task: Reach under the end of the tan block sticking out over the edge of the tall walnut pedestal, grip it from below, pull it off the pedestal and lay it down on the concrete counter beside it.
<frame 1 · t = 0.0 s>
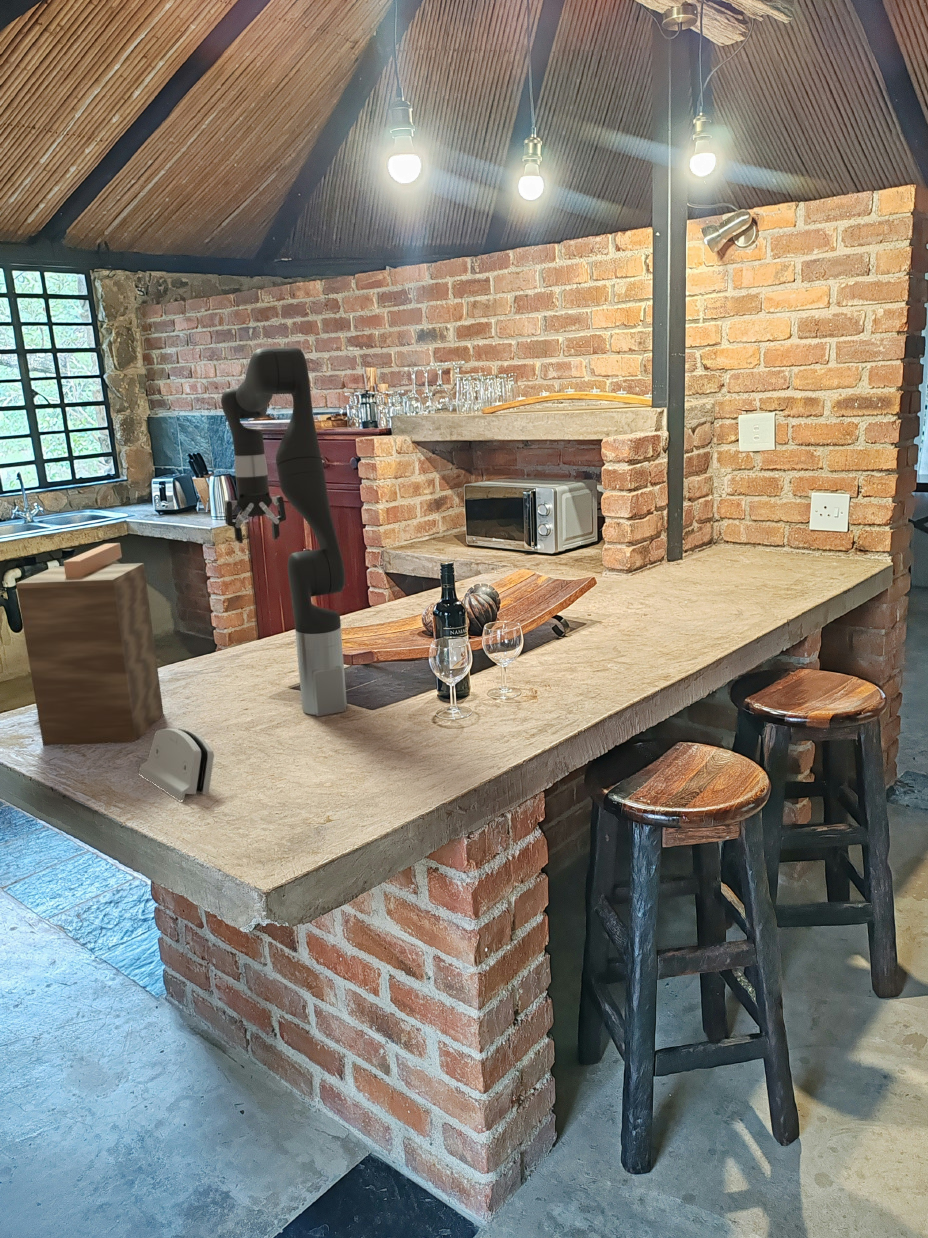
hand: (258, 540, 221), 29 cm above the table, tool pointing down, fingers open, 8 cm apart
pedestal: (105, 728, 182), on the table
tan block: (95, 566, 180), point 32 cm above the table, touching pedestal
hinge: (180, 783, 156), on the table
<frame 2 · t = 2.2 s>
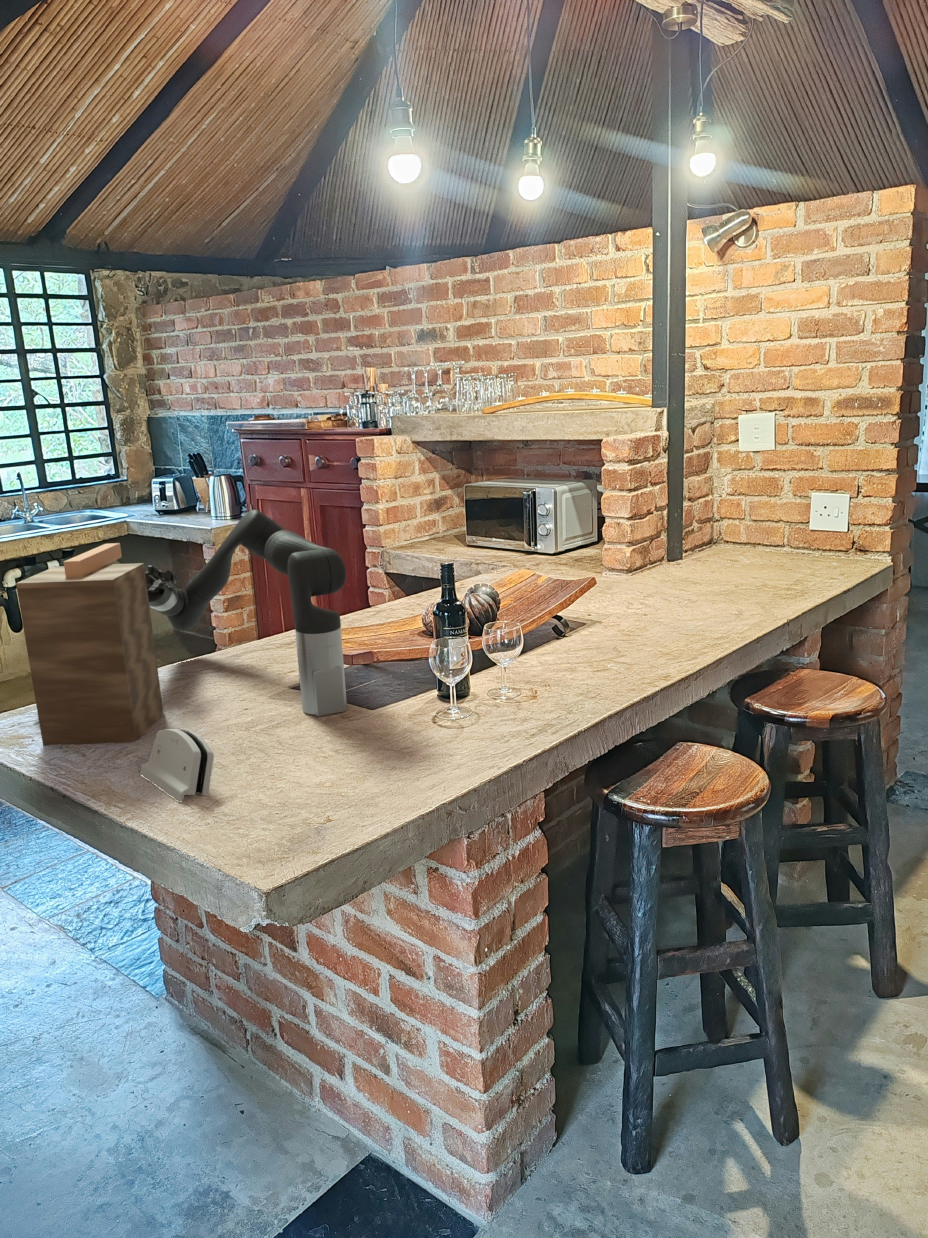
hand: (130, 570, 198), 28 cm above the table, tool pointing upward, fingers open, 8 cm apart
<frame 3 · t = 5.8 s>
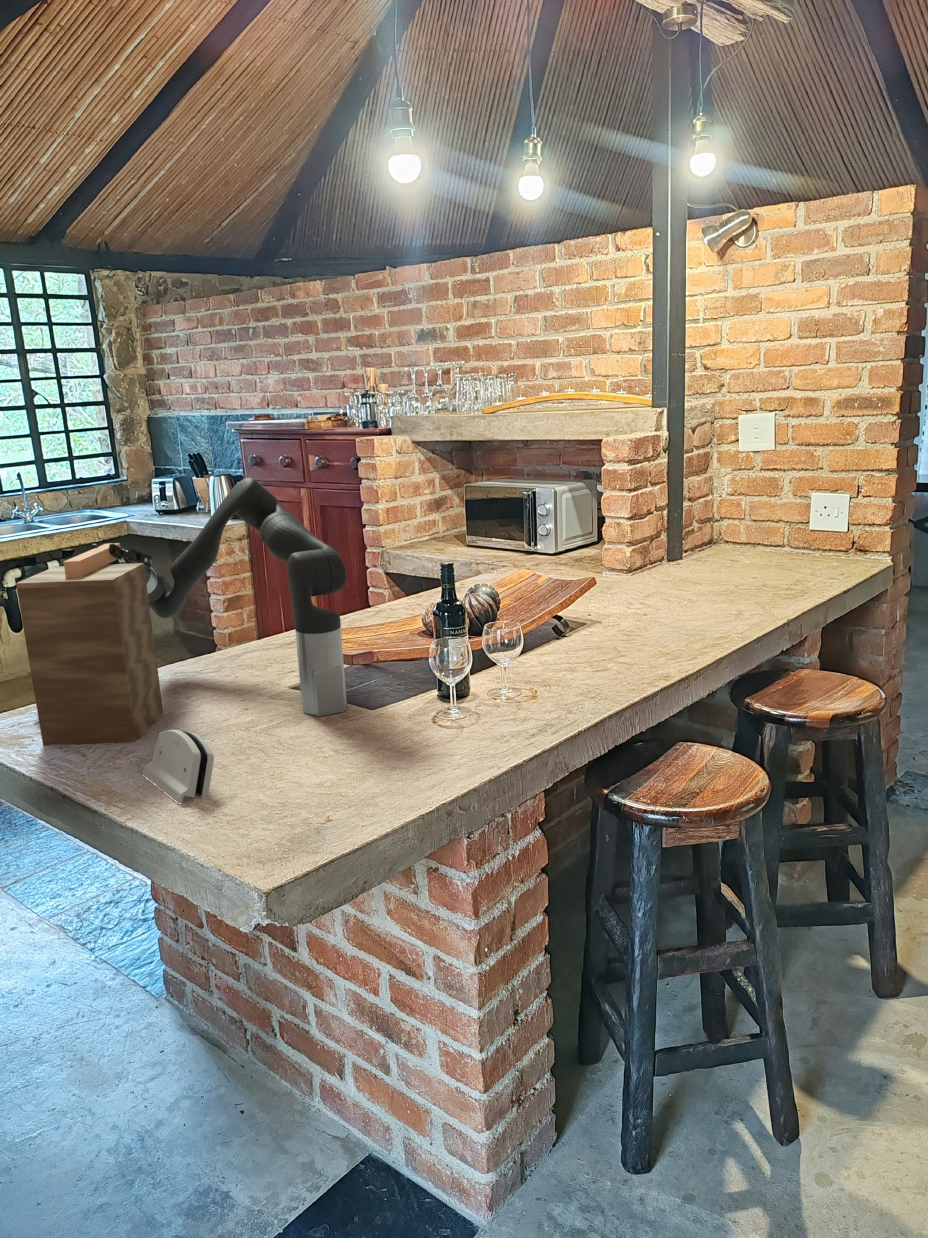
hand: (102, 548, 184), 35 cm above the table, tool pointing upward, fingers closed on tan block, 3 cm apart
tan block: (95, 566, 180), point 32 cm above the table, touching gripper, pedestal
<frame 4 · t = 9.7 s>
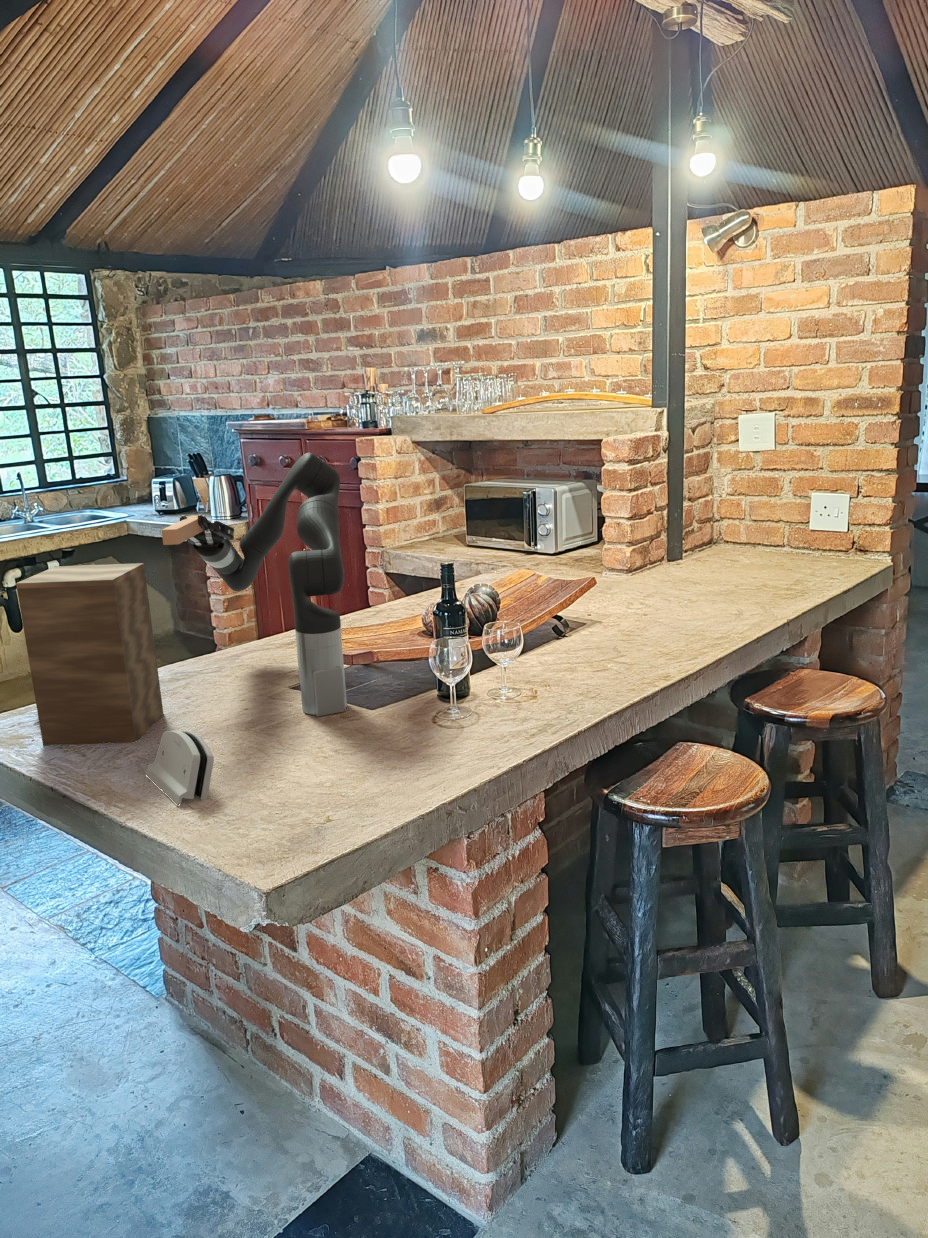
hand: (191, 519, 192), 39 cm above the table, tool pointing upward, fingers closed on tan block, 3 cm apart
tan block: (186, 536, 188), point 36 cm above the table, touching gripper
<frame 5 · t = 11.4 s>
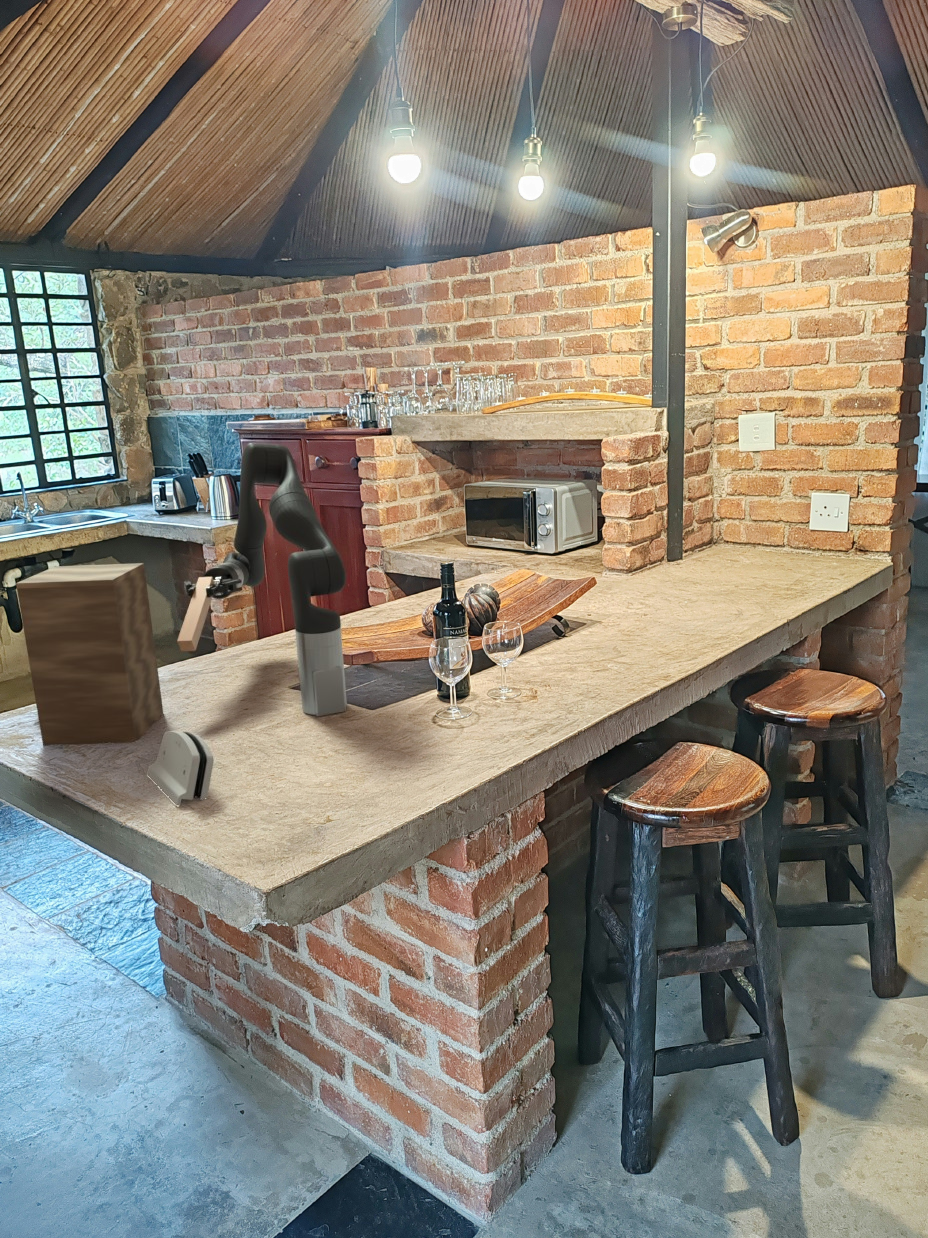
hand: (200, 593, 196), 23 cm above the table, tool horizontal, fingers closed on tan block, 3 cm apart
tan block: (199, 617, 194), point 18 cm above the table, tilted 29°, touching gripper
when the fingers open (11 cm above the table, at t = 14.0 s): tan block drops 7 cm, on the table.
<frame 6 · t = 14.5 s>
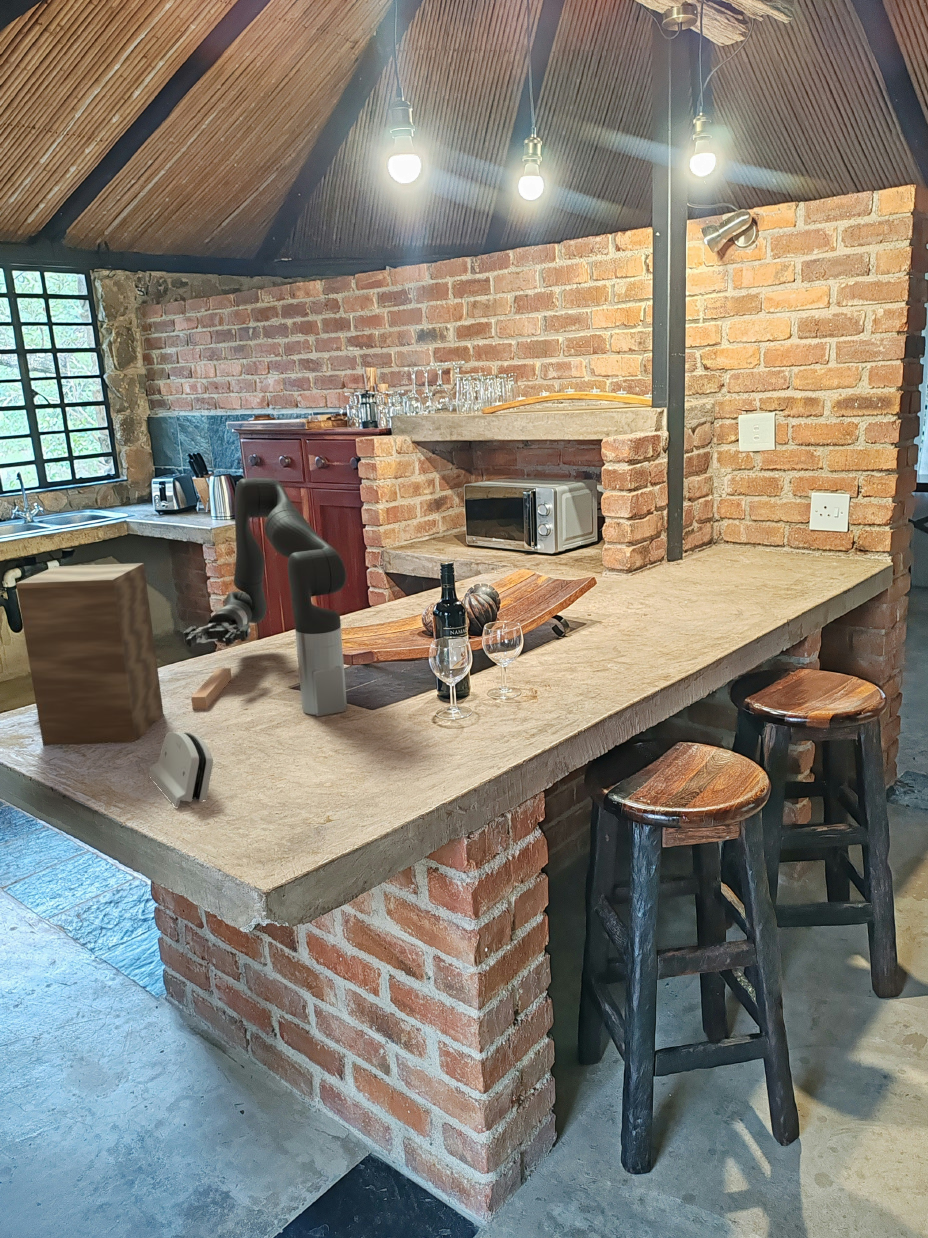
hand: (208, 642, 199), 12 cm above the table, tool horizontal, fingers open, 8 cm apart
tan block: (213, 694, 202), on the table
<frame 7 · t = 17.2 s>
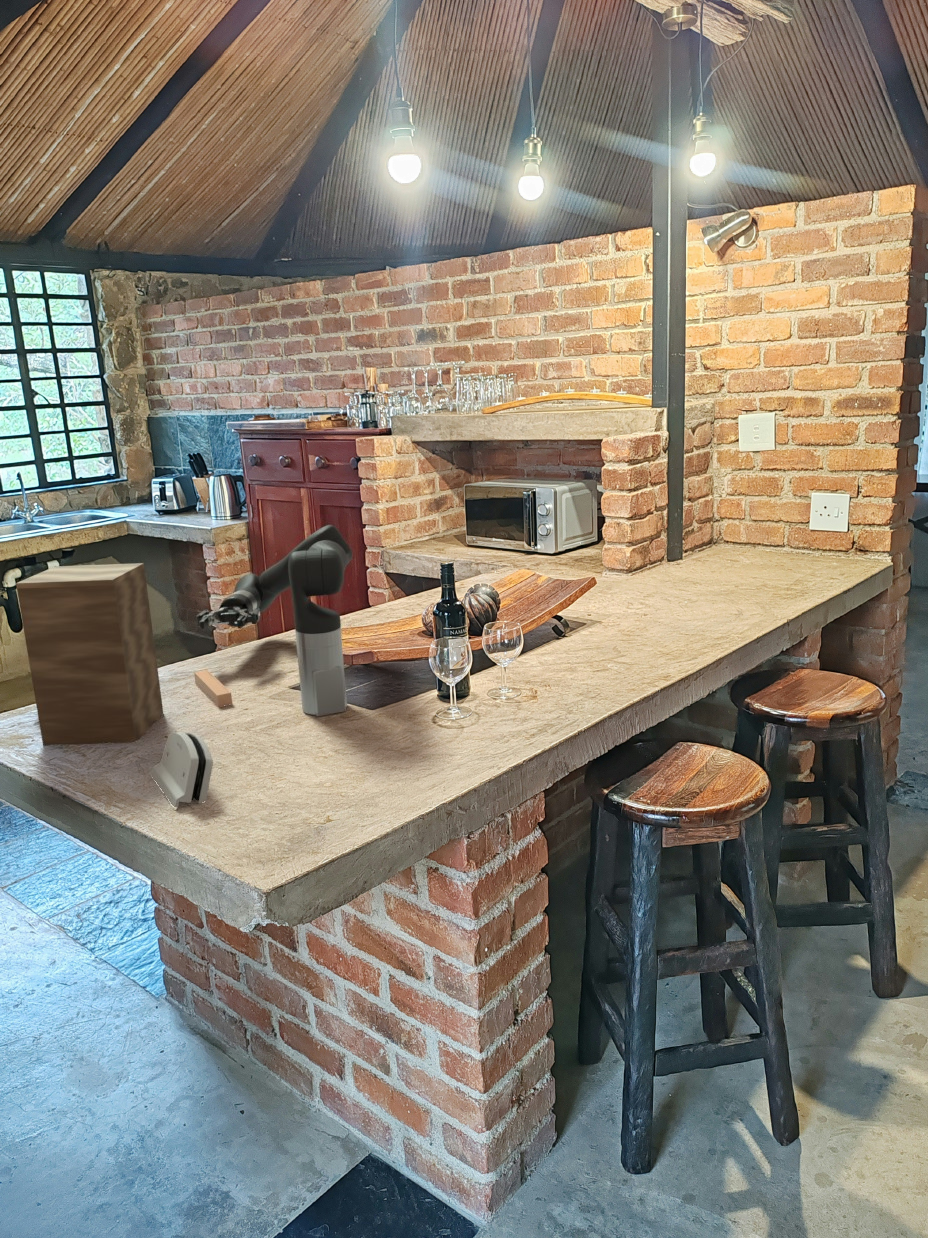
hand: (220, 625, 211), 12 cm above the table, tool horizontal, fingers open, 8 cm apart
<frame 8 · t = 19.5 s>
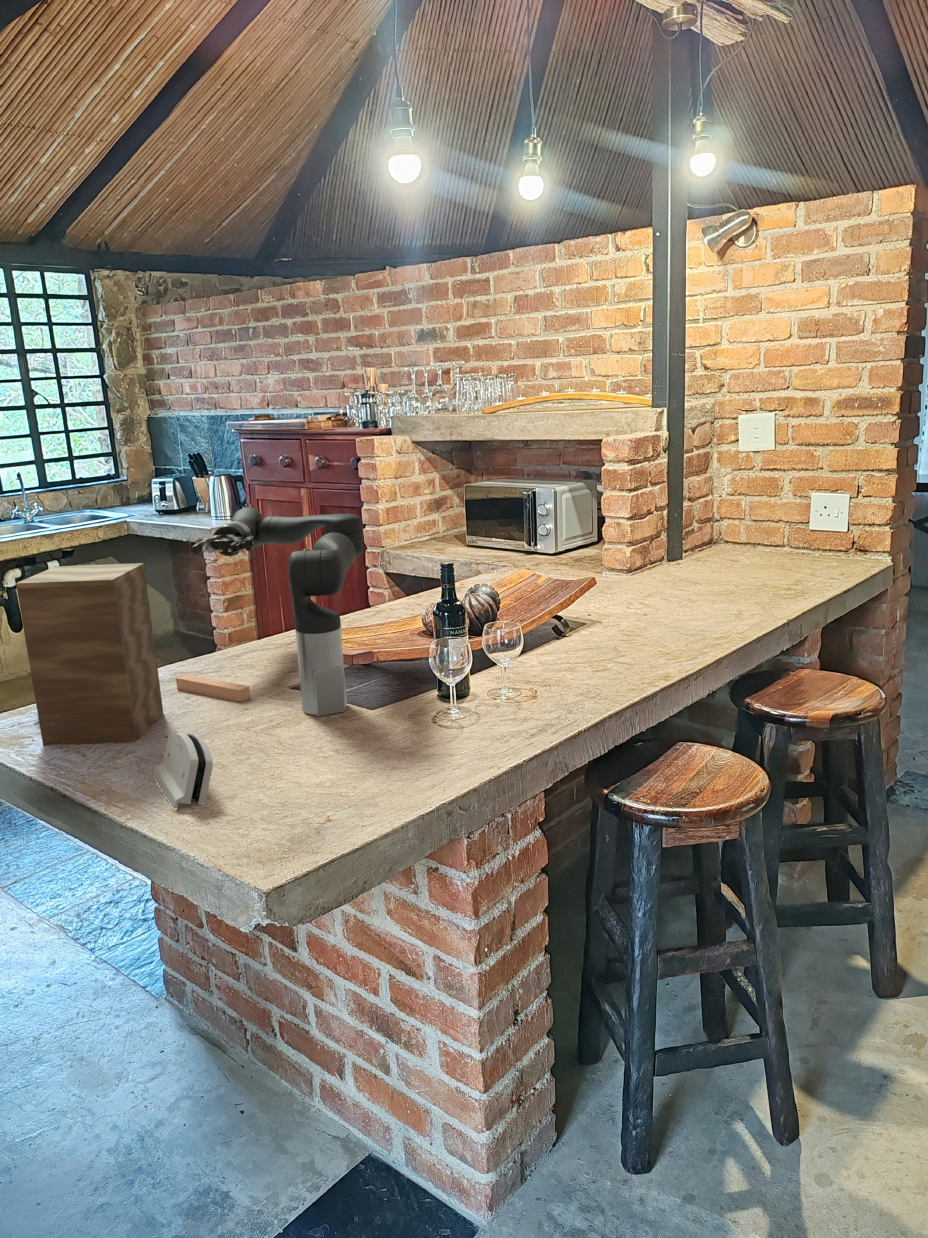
hand: (214, 549, 206), 30 cm above the table, tool horizontal, fingers open, 8 cm apart
at the end: tan block inside the target area (2.2 cm from its centre), on the table; tan block touching table; the gripper is holding nothing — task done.
